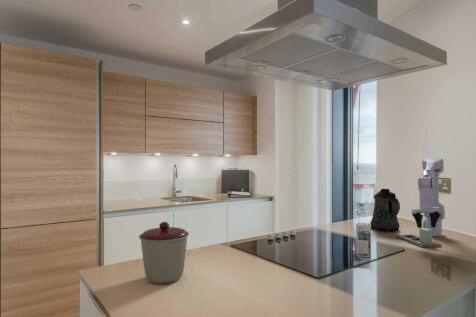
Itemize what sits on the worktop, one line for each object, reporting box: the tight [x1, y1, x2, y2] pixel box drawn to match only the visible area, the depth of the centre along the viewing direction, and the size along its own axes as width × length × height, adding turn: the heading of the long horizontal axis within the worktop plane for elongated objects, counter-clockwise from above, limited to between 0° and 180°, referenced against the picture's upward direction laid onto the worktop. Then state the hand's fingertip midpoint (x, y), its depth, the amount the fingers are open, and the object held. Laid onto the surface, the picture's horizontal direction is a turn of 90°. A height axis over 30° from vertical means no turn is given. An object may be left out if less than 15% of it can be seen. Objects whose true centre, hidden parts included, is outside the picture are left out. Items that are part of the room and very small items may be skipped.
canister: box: [138, 221, 190, 285], centre depth 118 cm, size 18×18×21 cm
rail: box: [395, 234, 442, 249], centre depth 167 cm, size 21×10×1 cm, turn 7°
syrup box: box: [355, 222, 372, 258], centre depth 144 cm, size 6×6×14 cm
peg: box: [418, 227, 433, 244], centre depth 161 cm, size 4×4×8 cm
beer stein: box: [369, 188, 401, 233], centre depth 195 cm, size 16×19×25 cm
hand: (426, 227), depth 160 cm, fingers open, 7 cm apart
